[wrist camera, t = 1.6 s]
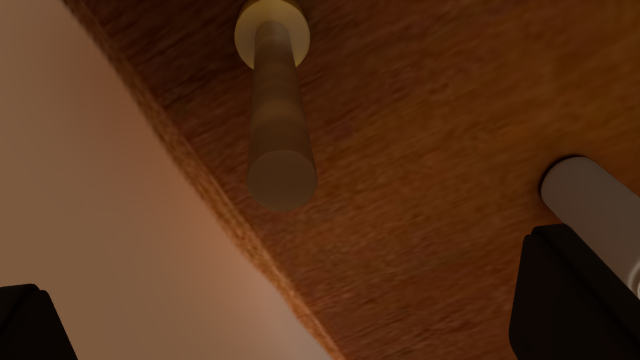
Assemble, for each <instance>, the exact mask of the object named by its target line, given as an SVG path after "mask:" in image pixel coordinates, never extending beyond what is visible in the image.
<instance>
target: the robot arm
mask: <svg viewBox="0 0 640 360" xmlns="http://www.w3.org/2000/svg"><path fill="white" fill-rule="evenodd" d="M509 340H510V344H511V347H512V349H513V351H514V353H515V355H516V357H517V358H518V360H640V299H639V298H638V297H637V296H636V295H635V294H634V293H633V292H632V291H631V290H630V289H629V288H628V287H627V286H626V285H625V284H624V282H623V281H622V280H621V279H620V278H619V277H618V276H617V275H616V274H615V273H614V272H613V271H612V270H611V269H610V268H609V267H608V266H607V265H606V264H605V263H604V262H603V261H602V259H601V258H600V257H599V256H598V255H597V254H596V253H595V252H594V251H593V250H592V249H591V248H590V247H589V246H588V245H587V244H586V243H585V242H584V241H583V240H582V239H581V238H580V236H579V235H578V234H577V233H576V232H575V231H574V230H573V229H572V228H571V227H570V226H568V225H567V224H564V223H562V224H553V225H544V226H537V227H534V229H533V230H532V232H531V234H530V235H526V236H525V238H524V241H523V247H522V253H521V259H520V265H519V271H518V277H517V283H516V289H515V295H514V302H513V308H512V314H511V320H510V326H509ZM0 360H78V359H77V356H76V354H75V352H74V350H73V348H72V345H71V343H70V341H69V339H68V336H67V334H66V332H65V330H64V327H63V325H62V323H61V321H60V318H59V316H58V314H57V312H56V309H55V307H54V305H53V303H52V300H51V298H50V296H49V294H48V293H47V292H46V291H45V290H39V288H38V287H37V286H36V285H35V284H23V285H14V286H5V287H0Z"/></svg>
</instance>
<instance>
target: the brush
mask: <svg viewBox="0 0 640 360" xmlns="http://www.w3.org/2000/svg"><path fill="white" fill-rule="evenodd" d="M234 38H235V45H236V48H237V51H238V53H239V55H240V57H241V58H242V60H243V61H244V62H245V63H246V64H247V65H248V66H249V67H250V68H252V69H253V84H252V100H251V116H250V132H249V148H248V165H247V188H248V191H249V193H250V195H251V196H252V198H253V199H254V200H255V201H256V202H257V203H258V204H260V205H261V206H263V207H265V208H267V209H270V210H274V211H289V210H293V209H296V208H298V207H300V206H302V205H303V204H305V203H306V202H307V201H308V200H309V199H310V198H311V197H312V195H313V194H314V192H315V190H316V186H317V173H316V168H315V162H314V157H313V152H312V147H311V142H310V137H309V132H308V127H307V122H306V117H305V112H304V106H303V101H302V96H301V91H300V86H299V81H298V76H297V71H296V67H297V66H298V65H299V64H300V63H301V62H302V61H303V59H304V58H305V56H306V54H307V52H308V49H309V45H310V30H309V26H308V23H307V21H306V18H305V15H304V13H303V10H302V9H301V7H300V6H299V4H298V3H297V2H296V1H295V0H247V1H246V2H245V3H244V5H243V6H242V8H241V10H240V12H239V15H238V18H237V22H236V27H235V35H234Z"/></svg>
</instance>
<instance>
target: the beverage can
mask: <svg viewBox="0 0 640 360" xmlns="http://www.w3.org/2000/svg"><path fill="white" fill-rule="evenodd" d="M541 196H542V199H543V201H544V203H545V204H546V205H547V206H548V207H549V208H550V209H551V210H552V211H553V212H554V214H555V215H556V216H557V217H558V218H559V219H560V220H561V221H562V222H563V223H564V224H567V225H568V226H570V227H571V228H572V229H573V230H574V231H575V232H576V233H577V234H578V235H579V236H580V238H581V239H582V240H583V241H584V242H585V243H586V244H587V245H588V246H589V247H590V248H591V249H592V250H593V251H594V252H595V253H596V254H597V255H598V256H599V257H600V258H601V259H602V261H603V262H604V263H605V264H606V265H607V266H608V267H609V268H610V269H611V270H612V271H613V272H614V273H615V274H616V275H617V276H618V277H619V278H620V279H621V280H622V281H623V282H624V284H625V285H626V286H627V287H628V288H629V289H630V290H631V291H632V292H633V293H634V294H635V295H636V296H637V297H638V298H639V299H640V198H639V197H638V196H637V195H636V194H634V193H633V192H632V191H630V190H629V189H628V188H627V187H625V186H624V185H623V184H621V183H620V182H619V181H618V180H616V179H615V178H614V177H613V176H611V175H610V174H609V173H607V172H606V171H605V170H604V169H602V168H601V167H600V166H599V165H597V164H596V163H595V162H593V161H592V160H590V159H588V158H585V157H574V158H569V159H566V160H563V161H561V162H559V163H557V164H556V165H554V166H553V167H552V168H551V169H550V170H549V172H548V173H547V175H546V177H545V179H544V181H543V184H542V188H541Z"/></svg>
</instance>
